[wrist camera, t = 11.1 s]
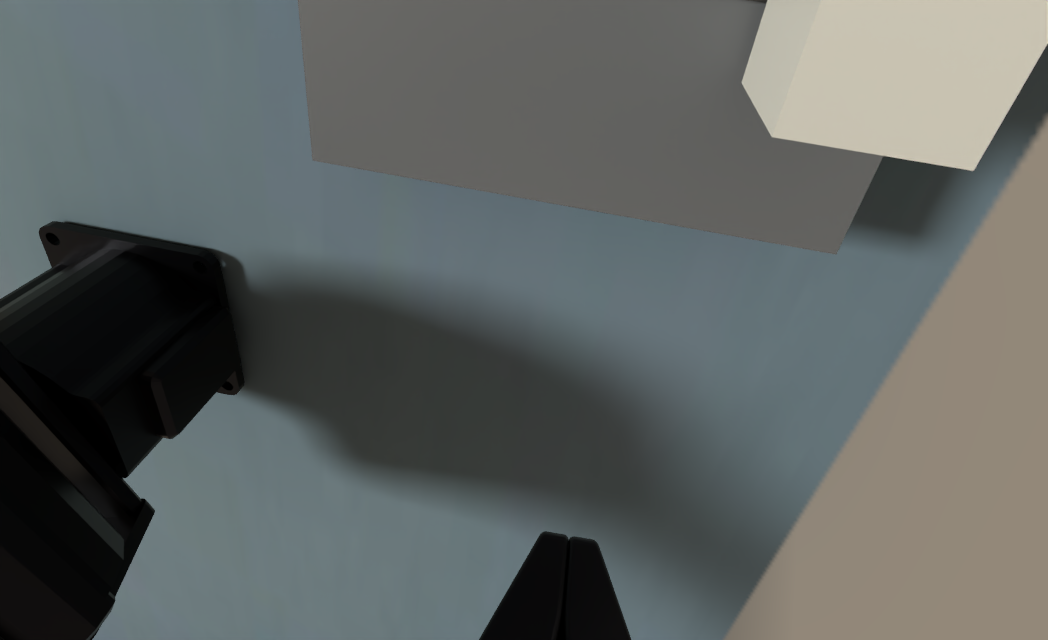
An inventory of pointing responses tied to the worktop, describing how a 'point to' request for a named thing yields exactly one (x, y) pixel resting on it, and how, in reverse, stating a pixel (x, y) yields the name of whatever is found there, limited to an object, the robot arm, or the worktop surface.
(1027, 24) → the cream matte cube
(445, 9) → the grey slider switch panel
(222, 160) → the worktop surface
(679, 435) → the worktop surface
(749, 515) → the worktop surface
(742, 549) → the worktop surface
